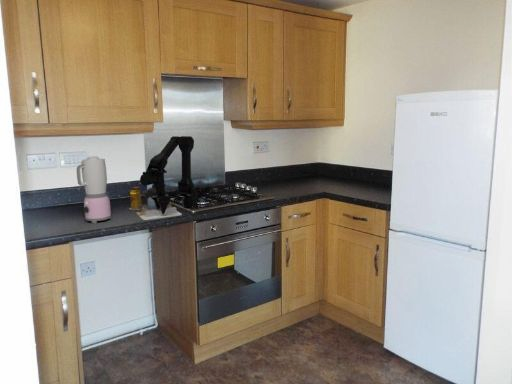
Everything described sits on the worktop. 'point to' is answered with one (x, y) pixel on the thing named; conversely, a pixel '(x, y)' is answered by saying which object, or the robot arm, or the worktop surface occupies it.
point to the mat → (159, 216)
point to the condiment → (135, 198)
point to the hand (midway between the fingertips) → (160, 212)
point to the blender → (94, 189)
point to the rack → (145, 207)
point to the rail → (160, 212)
